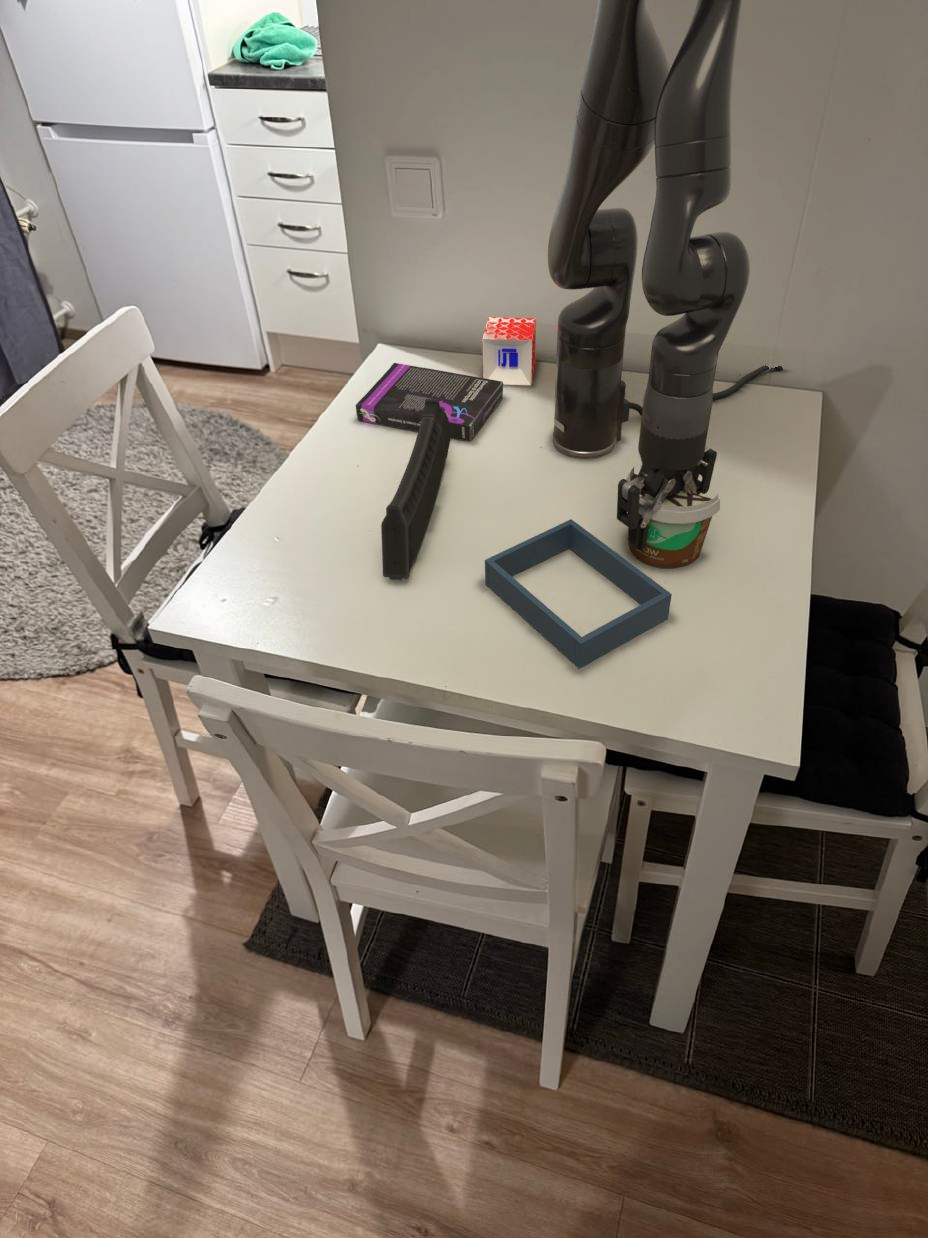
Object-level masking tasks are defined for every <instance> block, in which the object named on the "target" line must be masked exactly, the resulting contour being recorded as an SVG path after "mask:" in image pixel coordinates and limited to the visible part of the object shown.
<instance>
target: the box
mask: <svg viewBox="0 0 928 1238" xmlns="http://www.w3.org/2000/svg"><path fill="white" fill-rule="evenodd" d="M503 398H504V385H503V382H502V381H496V380H491V379H486V378H483V377H478V376H475V375H467V374H462V373H457V372H453V371H452V372H451V371H450V372H449V371H445V370H439V369H435V368H428V367H422V366H417V365H411V364H406V363H405V364H404V363H398V362H393V363H392V364H391V365H390V367H389V368H388V369H387V370H386V371H385V373H384V374H383V375H382V376H381V377H380V378H379V379H378V380H377V381H376V382H375V384H374V385H372V387H371V388H370V389H369V390H368V391H367V392H366V393H365V394H364V395H363V397H362V398H361V399H360V400H359V401H357V403H356V404H355V405H354V406H355V412H356V416H357V418H356V419H357V420H358V422H364V423H368V424H369V423H370V424H374V425H381V426H386V427H391V428H397V429H402V430H408V431H411V432H417V433H418V431H419V427H420V424H421V421H422V415H423V412H424V408H425V400H426V399H437V400H439V404H440V407H441V408H442V409H444V410H445V413H446V415H447V417H448V420H449V427H450V434H451V439H454V440H459V441H460V440H461V441H464V442H470V443H471V442H472V441H473V440H474V438H476V436H477V434H478V432H479V431H480V430H481V428H482V427H483V425H484V424H485V423H486V421H487V420H488V419H489V417H490V416H491V414H492V413H493V412H494V410H495V409H496V408H497V406H498V405H499V403H500V402H501V401H502V400H503Z"/></svg>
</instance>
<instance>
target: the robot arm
mask: <svg viewBox="0 0 928 1238" xmlns="http://www.w3.org/2000/svg"><path fill="white" fill-rule="evenodd" d="M742 3H743V0H696V2H695V6H694V9H693V13H692V15H691V16H692V17H691V19H690V21H689V25H688V27H687V31H686V33H685V35H684V38H683V40H682V42H681V44H680V47H679V49H678V51H677V54H676V56H675V57H674V60H673V62H672V64H671V65H670V61H669V58H668V56H667V52H666V49H665V46H664V43H663V42H662V40H661V37H660V34H659V32H658V31H657V28H656V26H655V24H654V21H653V18H652V16H651V14H650V13H651V12H650V10H649V6H648V3H647V0H597V4H596V10H595V16H594V21H593V22H594V23H593V27H592V33H591V38H590V44H589V49H588V54H587V57H586V58H587V59H586V63H585V67H584V72H583V76H582V81H581V85H580V91H579V97H578V102H577V108H576V113H575V121H574V126H573V134H572V139H571V145H570V153H569V158H568V163H567V167H566V173H565V177H564V179H563V180H564V181H563V185H562V187H561V191H560V194H559V197H558V198H559V199H558V202H557V205H556V208H555V212H554V214H553V219H552V222H551V223H552V224H551V227H550V232H549V237H548V243H547V267H548V273H549V275H550V278H551V280H552V282H553V283H554V284H555V285H556V287H558V288H560V289H564V290H575V291H576V290H584V289H585V290H586V289H591V290H590V291H589V292H587V293H586V294H585V295H584V296H582V297H580V298H578V299H576V300H575V301H574V300H573V302H570V303H569V304H567V305H566V306H564V307H563V308H562V310H561V311H560V313H559V315H558V318H557V330H556V331H557V332H556V333H557V334H556V359H555V361H556V362H555V363H556V365H555V386H554V387H555V389H554V391H555V392H554V415H553V416H554V418H553V421H554V422H553V433H552V444H553V446H554V447H555V449H556V450H557V451H558V452H560V453H561V454H563V455H566V456H569V457H572V458H578V459H594V458H599V457H603V456H605V455H607V454H609V453H610V452H612V451H613V450H614V449H615V447H616V445H617V443H618V442H620V441H621V439H622V430H623V429H622V428H623V423H625V422H626V423H627V422H628V421H630V420H629V419H630V410H634V411H636V412H637V413H638V414H639V415H640V416H641V419H640V430H639V436H638V437H639V439H638V448H637V450H638V451H637V452H638V455H639V457H640V461H641V466H640V469H639V471H638V473H637V475H638V477H637V478H635V479H633V480H631V481H627V480H626V478H621V479H620V480H619V482H618V483H617V499H616V500H617V501H616V520H617V521H619V522H620V523H622V524H623V525H624V526H626V527H627V528H628V527H629V535H628V534H627V535H628V537H627V541H628V542H629V543H630V544H631V545H632V546H634V547H635V548H637V549H638V550H640V551H641V550H643V549H645V548H646V542H647V535H648V527H649V526H648V523H649V521H650V519H651V517H652V515H653V513H654V512H657V511H659V510H660V508H661V505H662V504H663V502H664V500H665V499H666V498H668V497H669V496H670V495H673V494H677V493H679V492H680V491H681V489H682V490H683V491H684V492H686V493H687V494H689V495H691V494H692V493H695V494H698V495H701V494H702V495H706V494H707V493H708V492H709V490H710V486H711V482H712V479H713V478H712V477H713V474H714V469H715V465H716V460H717V456H718V452H717V451H716V450H714V449H713V448H711V447H710V446H708V445H707V439H708V434H709V433H708V432H709V427H710V421H711V415H712V409H713V400H717V399H721V398H724V397H727V396H729V395H732V394H734V393H735V392H737V391H738V390H739V389H740V388H741V387H742V386H744V385H745V383H746V382H749V381H750V380H752V379H754V378H755V377H757V376H759V375H761V374H763V373H764V372H766V371H768V370H775V371H778V372H782V371H784V368H783V366H782V365H781V366H778V367H775V368H771V369H769V367H768V366H766V364H764V365H765V366H764V365H762V366H760V367H757V368H756V369H755V370H753V371H751V372H749V373H747V374H746V375H744V376H743V377H741V378H740V379H739V380H738V381H737V382H736V383H734V384H733V385H732V386H730V387H728V388H727V389H724V390H721V391H718V392H714V391H713V390H714V383H715V378H716V371H717V365H718V358H719V352H720V350H721V347H722V346H723V343H724V342H725V340H726V337H727V335H728V333H729V331H730V329H731V327H732V324H733V322H734V320H735V318H736V316H737V313H738V311H739V309H740V307H741V305H742V303H743V300H744V298H745V295H746V293H747V289H748V285H749V281H750V275H751V274H750V273H751V263H750V256H749V253H748V249H747V247H746V245H745V243H744V242H743V240H742V239H741V238H740V237H739V236H738V235H736V234H735V233H733V232H729V231H717V232H711V233H705V234H702V235H701V234H700V235H696V236H692V234H693V233H692V232H693V229H694V227H695V224H696V222H697V220H698V218H699V217H700V216H701V215H702V214H703V213H705V212H707V211H708V210H711V209H714V208H715V207H717V206H719V205H721V204H722V203H724V202H725V201H726V200H727V199H728V198H729V196H730V193H731V187H732V167H731V166H732V90H733V89H732V88H733V75H734V66H735V56H736V55H735V54H736V48H737V39H738V34H739V33H738V32H739V25H740V18H741V17H740V16H741V10H742ZM653 148H654V164H655V165H654V166H655V177H656V178H655V185H656V186H655V189H656V191H655V197H654V198H655V199H654V205H653V209H652V210H653V211H652V215H651V222H650V226H649V233H648V237H647V241H646V246H645V250H644V255H643V259H642V265H641V288H642V291H643V295H644V297H645V300H646V302H647V304H648V305H649V307H650V308H651V309H652V310H653V311H654V312H655V313H657V314H659V315H661V316H664V317H670V316H671V317H673V316H674V317H675V316H680V315H682V316H681V317H680V318H678V319H677V320H675V321H673V322H671V323H669V324H667V325H665V326H664V327H662V328H661V329H659V330H658V331H657V332H656V334H655V336H654V337H653V341H652V344H651V350H650V351H651V352H650V359H649V370H648V379H647V384H646V388H645V392H644V396H643V403H642V405H641V404H638V403H635V402H631V401H629V400H628V399H626V398H625V397H626V387H627V384H626V382H625V381H624V380H623V379H622V375H623V364H624V352H625V340H626V329H627V323H628V320H629V317H630V309H631V300H632V293H633V286H634V280H635V273H636V265H637V258H638V245H639V243H638V242H639V240H638V229H637V225H636V221H635V218H634V216H633V214H632V213H631V212H630V211H629V210H628V209H626V208H623V207H611V208H603V209H599V208H600V207H601V205H602V204H603V203H604V202H605V200H607V199H608V197H610V196H611V194H613V192H615V190H616V189H617V188H618V187H619V186H621V185H622V184H623V183H624V182H625V181H626V180H627V179H628V178H629V176H631V174H632V173H633V172H635V170H637V169H638V167H639V166H640V165H641V164H642V163H643V161H645V159H646V158H647V157H648V155H649V153H651V150H652V149H653ZM700 476H701V480H700V479H699V477H700ZM646 492H647V493H648V494H649V495H650V496H652V497H653V498H655V499H654V501H653V502H652V503H651V502H649V501H648V500H646V499H647V498H646V497H645V493H646ZM642 496H643V497H645V498H646V499H644V498H643V497H642ZM640 504H641V505H642V506H644V507H645V512H644V514H643V516H642V515H640V514H639V506H640ZM628 542H627V543H628Z"/></svg>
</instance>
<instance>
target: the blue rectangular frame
mask: <svg viewBox="0 0 928 1238" xmlns="http://www.w3.org/2000/svg"><path fill="white" fill-rule="evenodd" d="M567 550H570V551H572V552H573V553H574V554H575V555H576V556H577V557H579V558H580V559H582V560H583V561H584V562H585V563H586V564H588V565H589V566H590V567H592V568H593V569H594V570H595V571H597V572H598V573H599V574H601V575H602V576H603V577H604V578H606V579H607V580H608V581H610V582H611V583H613V584H614V585H615V586H616V587H617V588H618V589H620V590H621V591H622V592H624V593H625V594H627V595H628V596H629V597H630V598H632V599H633V600H634V601H635V602H636V603H638V604H639V605H638V606H636V607H634V608H632V609H631V610H628V611H626V612H625V613H623V614H622V615H619V616H618V617H616V618H614V619H612V620H610V621H608V622H607V623H604V624H603V625H601V626H599V627H597V628H595V629H594V630H592V631H590V632H588V633H586V634H584V635H580V634H579V633H578V632H577V631H576V630H574V629H573V628H572V627H571V626H570V625H569V624H567V622H565V621H564V620H563V619H562V618H561V617H560V616H558V615H557V614H556V613H555V612H554V611H553V610H551V608H549V607H548V606H547V605H545V604H544V602H542V600H540V599H539V598H537V597H536V596H535V595H534V594H533V593H532V592H530V590H528V589H527V588H526V587H525V586H524V585H522V583H520V582H519V581H518V580H517V579H515V578H514V576H516V575H518V574H521V573H522V572H524V571H526V570H528V569H530V568H532V567H535V566H537V565H538V564H540V563H542V562H544V561H547V560H549V559H551V558H554V557H555V556H557V555H559V554H562V553H563V552H565V551H567ZM484 581H485V582H484V583H485V586H486V587H487V588H489V590H490V591H492V592H493V593H494V594H495V595H496V596H497V597H498V598H499V599H501V601H503V602H504V603H505V604H506V605H507V606H509V608H511V609H512V610H513V611H514V612H515V613H516V614H517V615H519V617H521V618H522V620H523V621H525V622H526V623H527V624H529V625H530V627H532V628H533V629H534V630H535V631H536V632H537V633H538V634H540V635H541V636H542V637H543V638H544V639H545V640H546V641H547V642H549V644H551V645H552V646H553V647H554V648H555V649H556V650H557V651H559V652H560V653H561V654H562V655H563V656H564V657H565V658H567V660H569V662H571V663H572V664H573V665H574V666H575V667H576V668H577V669H582V668H583V667H586V666H587V665H589V664H590V663H593V662H594V661H596V660H598V659H599V658H601V657H604V656H605V655H607V654H608V653H610V652H612V651H614V650H615V649H617V648H619V647H621V646H623V645H624V644H626V643H628V642H630V641H632V640H634V639H635V638H637V637H638V636H640V635H642V634H644V633H647V631H649V630H652V629H653V628H654V627H656V626H658V625H661V624H662V623H664V622H665V621H668V620H669V614H670V609H671V601H672V596H673V595H672V593H671V592H670V591H668V590H667V589H666V588H664V587H663V586H662V585H660V584H659V583H658V582H656V581H655V580H653V578H651V577H650V576H648V575H647V574H645V573H644V572H643V571H642V570H640V569H639V568H638V567H636V566H635V565H634V564H632V563H631V562H629V560H628V559H626V558H624V557H623V556H622V555H620V554H619V553H618V552H616V551H615V550H614V549H612V548H611V547H609V546H608V545H607V544H605V543H604V542H603V541H602V540H600V539H599V538H597V537H596V536H595V535H593V534H592V533H591V532H589V531H588V530H587V529H585V528H584V527H583V526H582V525H580V524H578V523H577V522H575V520H573V519H571V518H570V519H568V520H566V521H564V522H561V523H560V524H557V525H555V526H553V527H551V528H549V529H547V530H545V531H543V532H541V533H539V534H536V535H534V536H532V537H530V538H528V539H526V540H523V541H522V542H520V543H518V544H516V545H514V546H511V547H509V548H507V549H505V550H503V551H501V552H498V553H496V554H494V555H492V556H490V557H488V558H485V559H484Z"/></svg>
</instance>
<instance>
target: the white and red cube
mask: <svg viewBox="0 0 928 1238" xmlns="http://www.w3.org/2000/svg"><path fill="white" fill-rule="evenodd" d="M536 342H537V318H536V317H501V316H500V317H499V316H488V317H487V321H486V325H485V329H484V332H483V335H482V339H481V348H482V378H486V379H491V380H496V381H502V382H503V386H504V385H505V386H509V385H511V386H532V385H533V379H534V371H535V368H536V350H537V349H536V346H537V345H536V344H537V343H536Z"/></svg>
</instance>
